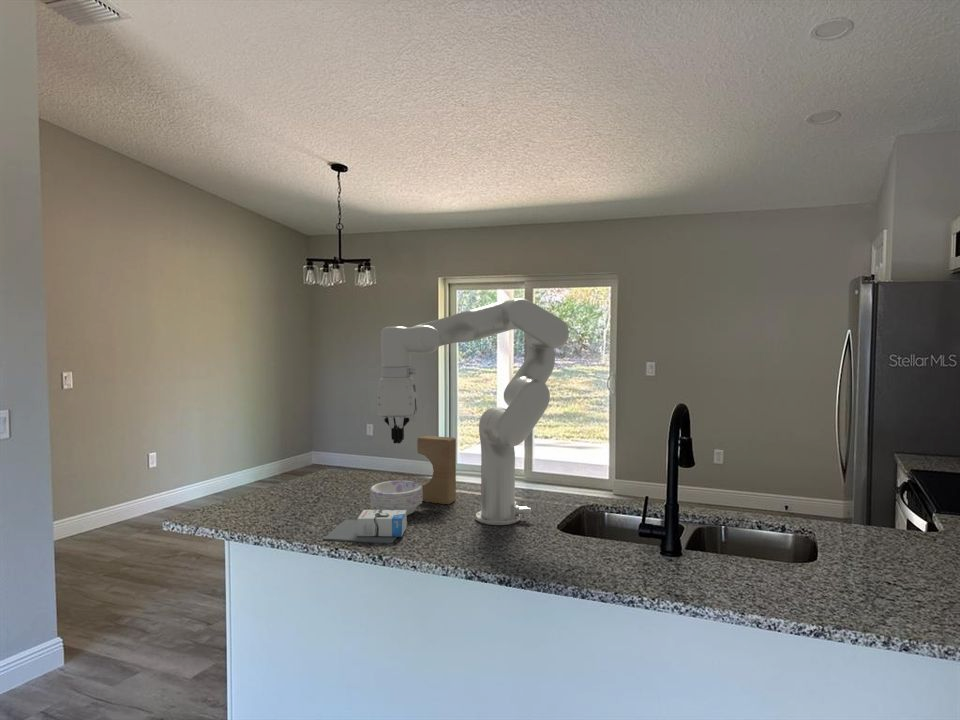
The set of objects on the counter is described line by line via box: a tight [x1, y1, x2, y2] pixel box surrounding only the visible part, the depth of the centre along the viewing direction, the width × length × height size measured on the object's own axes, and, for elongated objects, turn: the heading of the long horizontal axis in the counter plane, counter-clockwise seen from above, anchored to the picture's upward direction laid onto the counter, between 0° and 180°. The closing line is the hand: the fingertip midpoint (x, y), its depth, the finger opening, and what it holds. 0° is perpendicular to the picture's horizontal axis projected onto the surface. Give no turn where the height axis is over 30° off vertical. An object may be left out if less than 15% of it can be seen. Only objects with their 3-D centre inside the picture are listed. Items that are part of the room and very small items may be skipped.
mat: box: [322, 519, 409, 544], centre depth 162 cm, size 18×16×1 cm
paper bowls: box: [369, 480, 423, 516], centre depth 179 cm, size 15×15×8 cm
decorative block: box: [417, 435, 457, 505], centre depth 191 cm, size 11×6×20 cm, turn 65°
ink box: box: [356, 509, 408, 538], centre depth 160 cm, size 8×5×12 cm
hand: (397, 442), depth 162 cm, fingers closed
